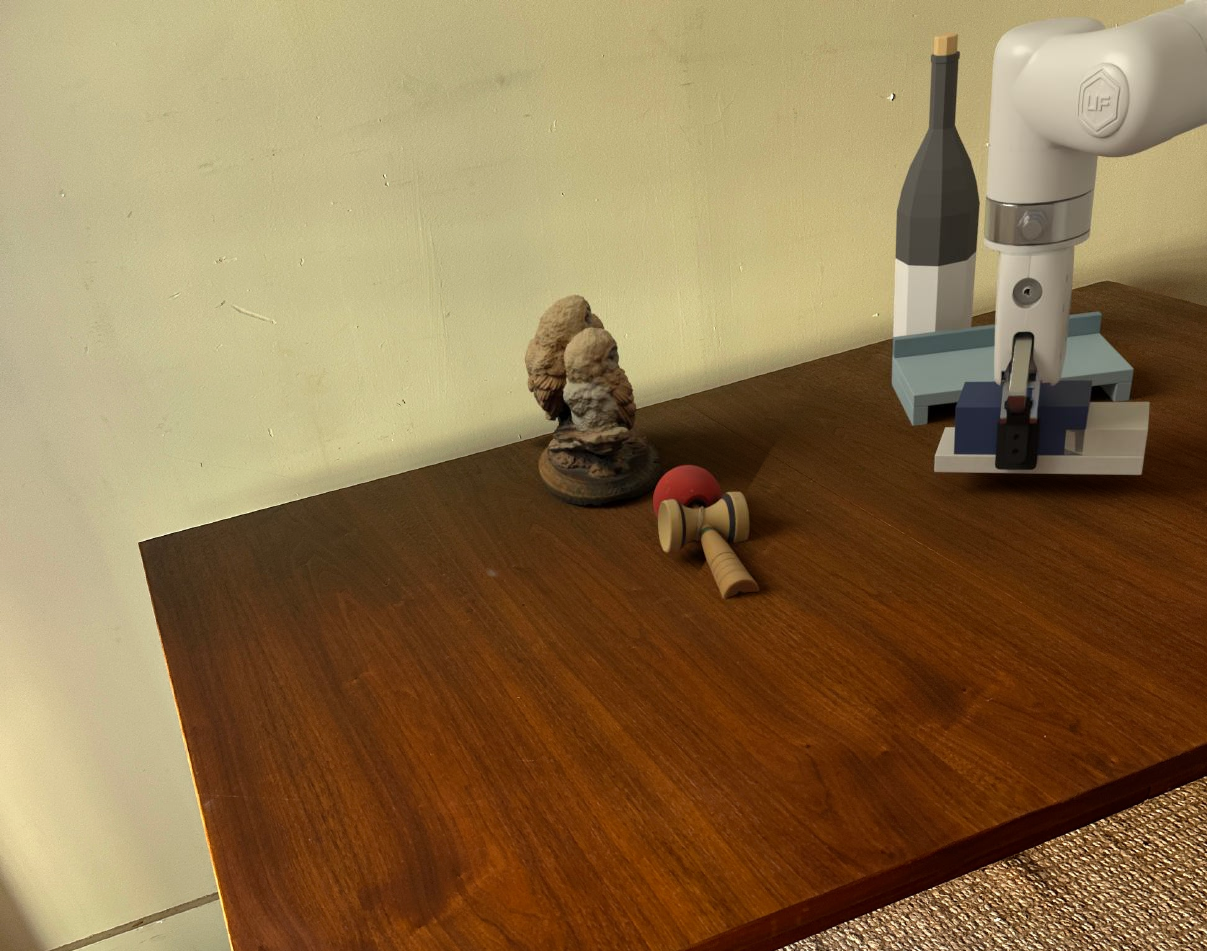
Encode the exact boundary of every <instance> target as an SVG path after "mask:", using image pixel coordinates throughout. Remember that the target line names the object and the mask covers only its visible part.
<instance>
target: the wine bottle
mask: <svg viewBox="0 0 1207 951" xmlns="http://www.w3.org/2000/svg"><path fill="white" fill-rule="evenodd" d="M958 38H959V34H958V33H955V32H947V33H941V34H937V35H935V36H934V39H933V40H934V41H933V42H934V43H933V45H934V46H933V53H932V54H931V55H930V63H931V67H930V92H929V112H928V113H929V114H928V120H929V121H928V129H927V131H926V133H925V135H924V138H923V140H922V142H921V144H920V145H919V147H918V149H917V151H916V152H915V155H914V157H913V159H912V161H911V163H910V165H909V167H908V170H907V173H906V176H905V179H904V182H903V184H902V188H901V191H900V196H899V200H898V204H897V208H896V221H895V222H896V225H895V226H896V228H895V257H894V259H895V260H894V261H895V262H894V263H895V265H894V291H893V292H894V294H893V295H894V296H893V297H894V298H893V333H892V338H893V337H897V336H905V335H913V334H921V333H929V332H937V331H945V330H953V329H961V328H969V327H972V322H973V307H974V295H975V294H974V293H975V277H976V264H977V262H976V261H977V250H978V237H979V236H978V234H979V221H980V220H979V219H980V205H981V202H980V195H979V189H978V188H979V187H978V182H977V177H976V174H975V170H974V166H973V164H972V159H971V157H970V156H969V154H968V152H967V149H966V147H965V145H964V143H963V141H962V138H961V136H960V134H959V132H958V129H957V127H956V116H957V99H958V98H957V95H958V79H959V77H958V76H959V60H960V58H961V51H958V42H959V39H958Z"/></svg>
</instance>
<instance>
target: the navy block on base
mask: <svg viewBox="0 0 1207 951" xmlns="http://www.w3.org/2000/svg"><path fill="white" fill-rule="evenodd" d="M1003 383H1004V382H1003ZM1092 387H1093V386H1092V380H1076V381H1059V382H1058V383H1057V384H1056V385H1054V386H1050V383H1042V381H1041V388H1040V396H1039V406H1038V415H1037V419H1041V422H1040V433H1039V445H1038V457H1037V465H1036V468H1035V469H1033V470H1000V469H997V468H996V467H995V456H996V441H997V425H998V419H1000V414H1001V404H1002V394H1003V385H1002V386H999V385H998V384H997V383H996V382H995V381H993V382H965V383H964V386H963V389H962V391H961V394H960V397H959V400H958V402H956V406H955V414H954V415H955V416H954V417H955V418H954V426H945V427H944V430H943V432H942V434H941V437H940V441H939V443H938V447H937V449H936V452H935V454H934V468H933V470H934V473H965V474H966V473H967V474H968V473H970V474H971V473H973V474H974V473H977V474H1037V475H1038V474H1043V475H1045V474H1049V475H1111V476H1112V475H1113V476H1114V475H1115V476H1117V475H1119V476H1120V475H1121V476H1141V475H1142V474H1143V468H1144V460H1145V454H1146V446H1147V439H1148V434H1149V422H1150V421H1149V420H1150V405H1151V404H1150V401H1118V402H1114V401H1091V397H1092V389H1093V388H1092ZM1032 390H1033V389H1027V397H1030V398H1031V400H1032Z"/></svg>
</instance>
